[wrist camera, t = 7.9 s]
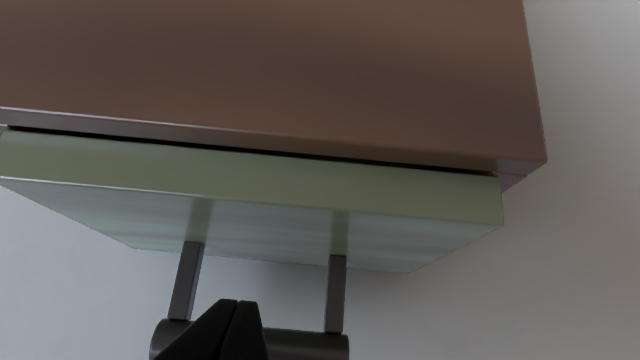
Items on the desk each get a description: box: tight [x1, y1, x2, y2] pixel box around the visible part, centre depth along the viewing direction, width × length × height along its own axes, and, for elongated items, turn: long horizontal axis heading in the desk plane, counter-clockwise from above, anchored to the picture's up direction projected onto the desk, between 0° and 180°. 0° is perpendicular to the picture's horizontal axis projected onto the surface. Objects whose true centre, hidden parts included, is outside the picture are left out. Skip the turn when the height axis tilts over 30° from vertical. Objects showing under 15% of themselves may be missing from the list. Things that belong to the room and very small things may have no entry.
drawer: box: [0, 130, 504, 360], centre depth 13 cm, size 16×11×8 cm
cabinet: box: [0, 0, 548, 193], centre depth 15 cm, size 14×13×10 cm
